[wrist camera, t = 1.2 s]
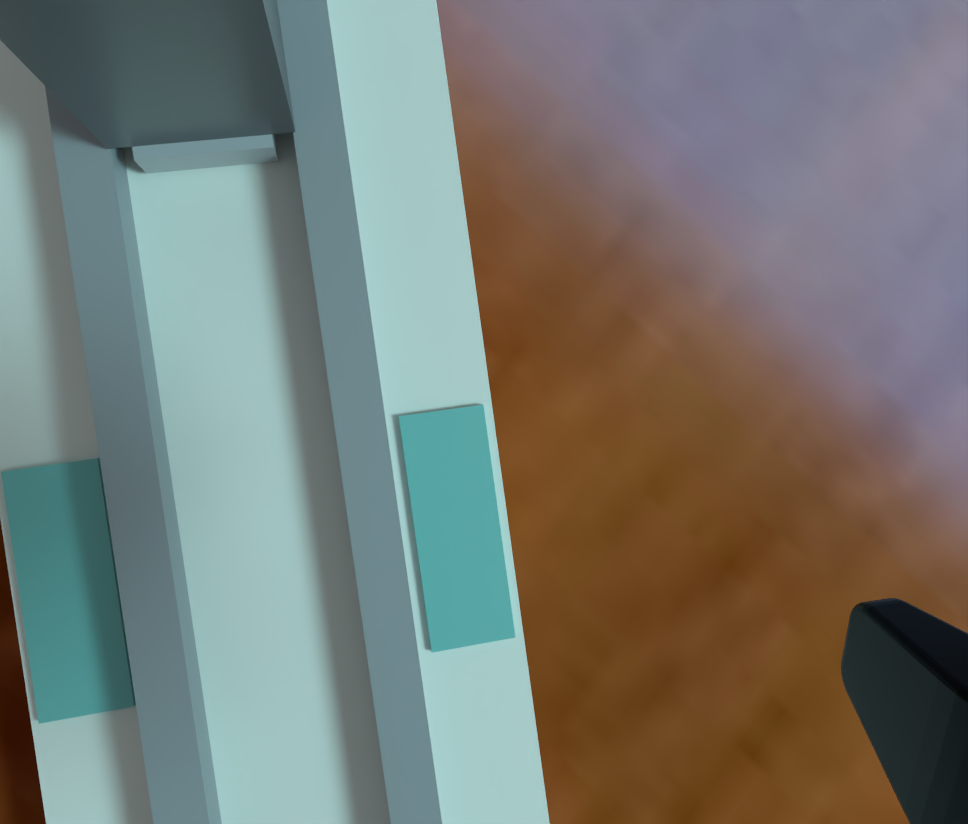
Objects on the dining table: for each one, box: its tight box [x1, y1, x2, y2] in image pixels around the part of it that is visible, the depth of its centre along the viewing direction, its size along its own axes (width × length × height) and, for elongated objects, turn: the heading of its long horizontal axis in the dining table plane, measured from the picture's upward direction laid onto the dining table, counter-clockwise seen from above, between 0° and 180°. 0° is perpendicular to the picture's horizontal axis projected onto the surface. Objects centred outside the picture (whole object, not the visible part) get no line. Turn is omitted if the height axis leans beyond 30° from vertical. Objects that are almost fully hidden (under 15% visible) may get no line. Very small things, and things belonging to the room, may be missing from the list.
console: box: [0, 0, 549, 824], centre depth 17 cm, size 28×10×2 cm, turn 8°
